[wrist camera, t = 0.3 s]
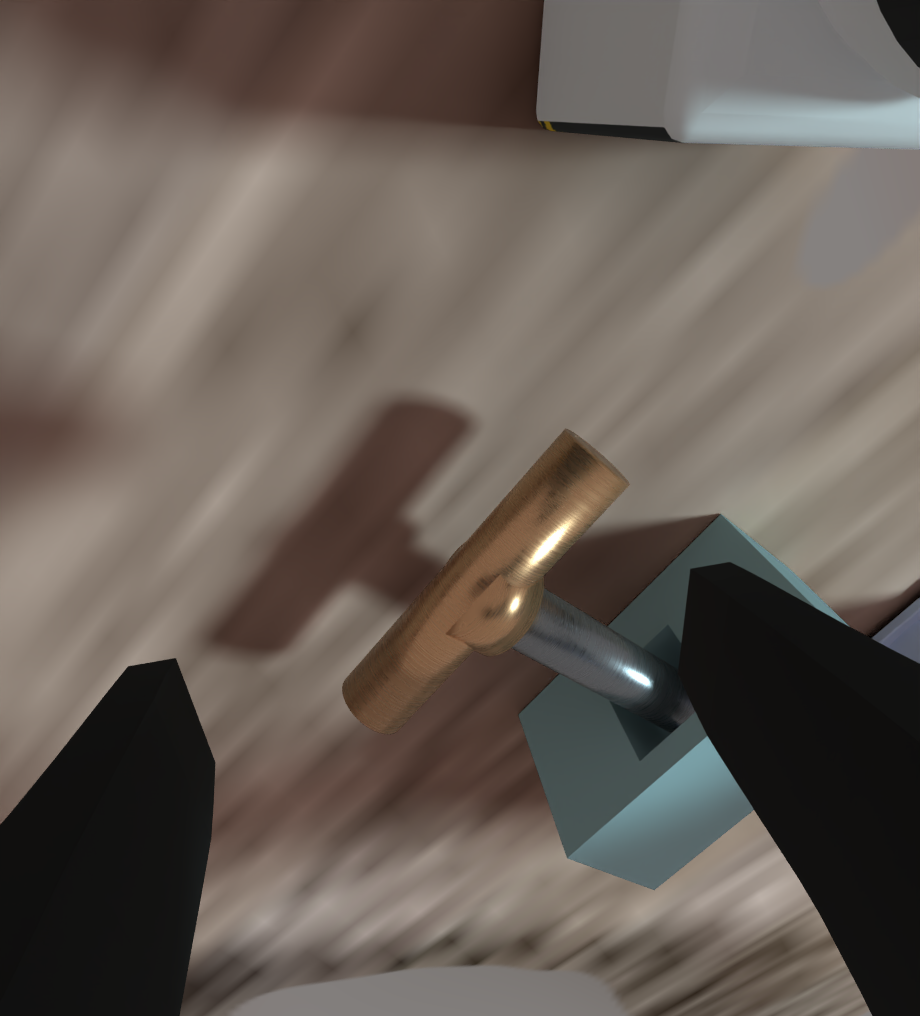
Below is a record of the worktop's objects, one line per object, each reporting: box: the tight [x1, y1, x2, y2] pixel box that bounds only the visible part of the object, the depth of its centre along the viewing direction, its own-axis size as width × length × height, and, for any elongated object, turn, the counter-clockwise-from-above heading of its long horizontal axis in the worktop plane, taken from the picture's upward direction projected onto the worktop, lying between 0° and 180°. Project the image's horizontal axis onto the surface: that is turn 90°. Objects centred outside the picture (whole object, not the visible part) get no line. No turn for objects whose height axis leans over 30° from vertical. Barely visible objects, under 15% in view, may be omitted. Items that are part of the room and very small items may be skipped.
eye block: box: [519, 514, 850, 890], centre depth 22 cm, size 4×10×6 cm, turn 141°
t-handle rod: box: [342, 429, 695, 734], centre depth 20 cm, size 14×9×3 cm, turn 51°
